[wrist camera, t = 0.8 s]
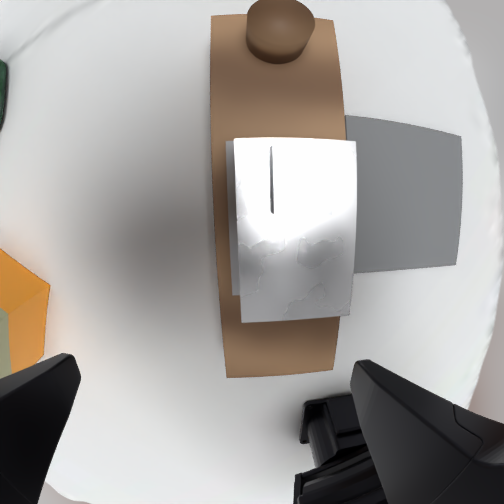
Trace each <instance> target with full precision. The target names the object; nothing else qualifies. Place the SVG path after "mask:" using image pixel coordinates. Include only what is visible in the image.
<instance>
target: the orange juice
mask: <svg viewBox="0 0 504 504" xmlns="http://www.w3.org/2000/svg"><path fill="white" fill-rule="evenodd" d="M49 290H50V285H49V284H48V283H46V282H45V281H43V280H42V279H40V278H39V277H38V276H36V275H35V274H33V273H32V272H31V271H29V270H28V269H26V268H25V267H24V266H22V265H21V264H20V263H18V262H17V261H16V260H14V259H13V258H12V257H10V256H9V255H8V254H7V253H5V252H4V251H3V250H1V249H0V379H1V378H3V377H6V376H8V375H11V374H13V373H15V372H18V371H20V370H23V369H25V368H28V367H30V366H32V365H35V364H36V362H37V361H38V360H39V359H40V358H41V357H42V356H43V355H44V339H45V325H46V314H47V305H48V297H49Z"/></svg>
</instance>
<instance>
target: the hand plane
mask: <svg viewBox="0 0 504 504" xmlns="http://www.w3.org/2000/svg"><path fill="white" fill-rule="evenodd" d="M210 108H211V155H212V184H213V206H214V226H215V243H216V259H217V274H218V288H219V301H220V313H221V325H222V336H223V346H224V357H225V367H226V376H227V378H242V377H264V376H279V375H291V374H302V373H311V372H320V371H328V370H333V366H334V359H335V352H336V345H337V338H338V330H339V321H340V316H335V317H324V318H312V319H300V320H285V321H268V322H247V323H242V320H241V300H240V280H239V258H238V234H237V209H236V181H235V150H234V139H241V138H307V139H329V140H344V141H346V134H345V117H344V104H343V92H342V82H341V73H340V64H339V56H338V49H337V42H336V35H335V29H334V23H333V20H327V19H320V18H314V16H313V14H312V13H311V11H310V10H309V9H308V8H307V7H306V6H305V5H303V4H302V3H300V2H298V1H296V0H259V1H257V2H255V3H254V4H253V5H252V6H251V7H250V9H249V10H248V13H247V14H234V15H216V16H211V49H210Z"/></svg>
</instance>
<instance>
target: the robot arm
mask: <svg viewBox="0 0 504 504" xmlns="http://www.w3.org/2000/svg"><path fill="white" fill-rule="evenodd" d="M80 381H81V374H80V371H79V368H78V366H77V363H76V360H75V358H74V356H73V355H71V354H66V353H61V354H59V355H56V356H54V357H52V358H49V359H47V360H45V361H42V362H40V363H37V364H35V365H32V366H30V367H28V368H25V369H23V370H20V371H18V372H15V373H13V374H11V375H8V376H6V377H3V378H1V379H0V504H37V503H38V500H39V497H40V493H41V490H42V487H43V484H44V481H45V478H46V475H47V472H48V469H49V466H50V463H51V461H52V458H53V455H54V453H55V450H56V447H57V445H58V442H59V440H60V437H61V435H62V432H63V430H64V427H65V425H66V422H67V420H68V418H69V415H70V412H71V409H72V406H73V403H74V399H75V396H76V393H77V390H78V387H79V384H80ZM350 387H351V392H352V395H348V396H342V397H336V398H330V399H323V400H316V401H309V402H306V403H305V404H304V408H303V416H302V424H301V431H300V438H299V440H300V443H301V444H307V443H310V446H311V450H312V454H313V458H314V463H315V467H316V468H315V469H312V470H310V471H307V472H304V473H299V474H296V475H295V482H294V501H293V504H504V424H503V423H500V422H497V421H494V420H491V419H488V418H486V417H483V416H481V415H478V414H475V413H473V412H470V411H469V410H466V409H464V408H462V407H460V406H458V405H456V404H453V403H452V402H450V401H448V400H446V399H444V398H442V397H440V396H438V395H436V394H434V393H432V392H430V391H428V390H426V389H424V388H422V387H420V386H418V385H416V384H414V383H412V382H410V381H408V380H406V379H404V378H403V377H401V376H399V375H397V374H395V373H393V372H391V371H389V370H387V369H386V368H384V367H382V366H380V365H378V364H376V363H374V362H373V361H371V360H368V359H366V360H359V361H357V362H355V365H354V368H353V373H352V377H351V381H350ZM309 406H310V407H309Z"/></svg>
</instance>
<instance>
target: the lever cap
mask: <svg viewBox="0 0 504 504" xmlns="http://www.w3.org/2000/svg"><path fill="white" fill-rule="evenodd" d="M234 150H235V181H236V209H237V234H238V258H239V280H240V300H241V320H242V323H247V322H268V321H285V320H300V319H312V318H324V317H335V316H345V315H349V312H350V303H351V293H352V283H353V271H354V258H355V241H356V215H357V160H356V141H344V140H329V139H307V138H241V139H234Z"/></svg>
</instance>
